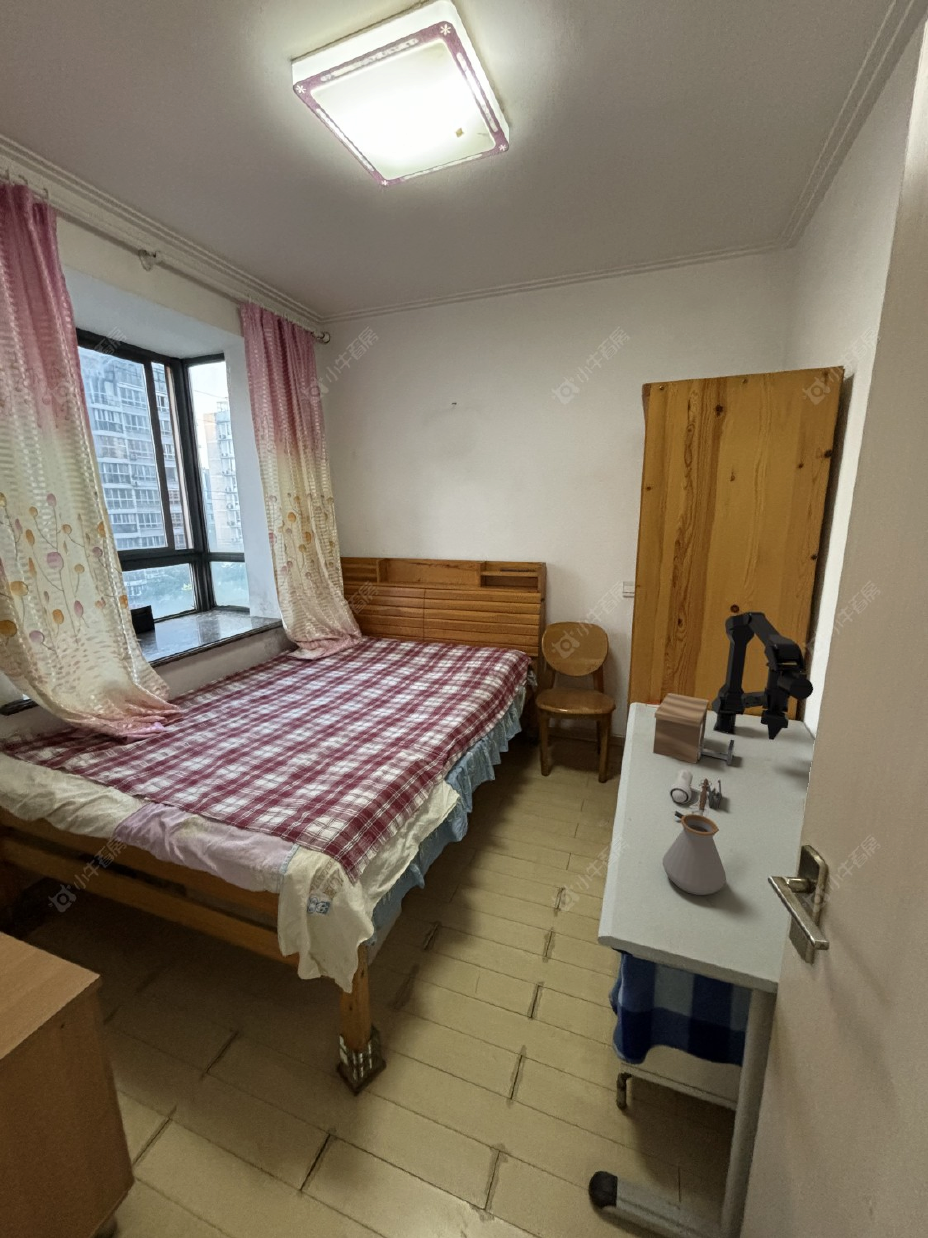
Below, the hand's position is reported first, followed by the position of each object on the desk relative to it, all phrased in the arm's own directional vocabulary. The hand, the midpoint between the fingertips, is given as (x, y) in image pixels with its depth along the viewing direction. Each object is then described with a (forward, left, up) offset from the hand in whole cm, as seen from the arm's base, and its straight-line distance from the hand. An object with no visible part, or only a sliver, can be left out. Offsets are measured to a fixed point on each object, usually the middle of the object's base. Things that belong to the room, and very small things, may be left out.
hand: (771, 739), depth 141 cm
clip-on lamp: (+31, -15, -10) cm, 36 cm away
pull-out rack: (0, -18, -9) cm, 20 cm away
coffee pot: (+55, -11, -10) cm, 57 cm away
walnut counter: (0, -24, -9) cm, 25 cm away
